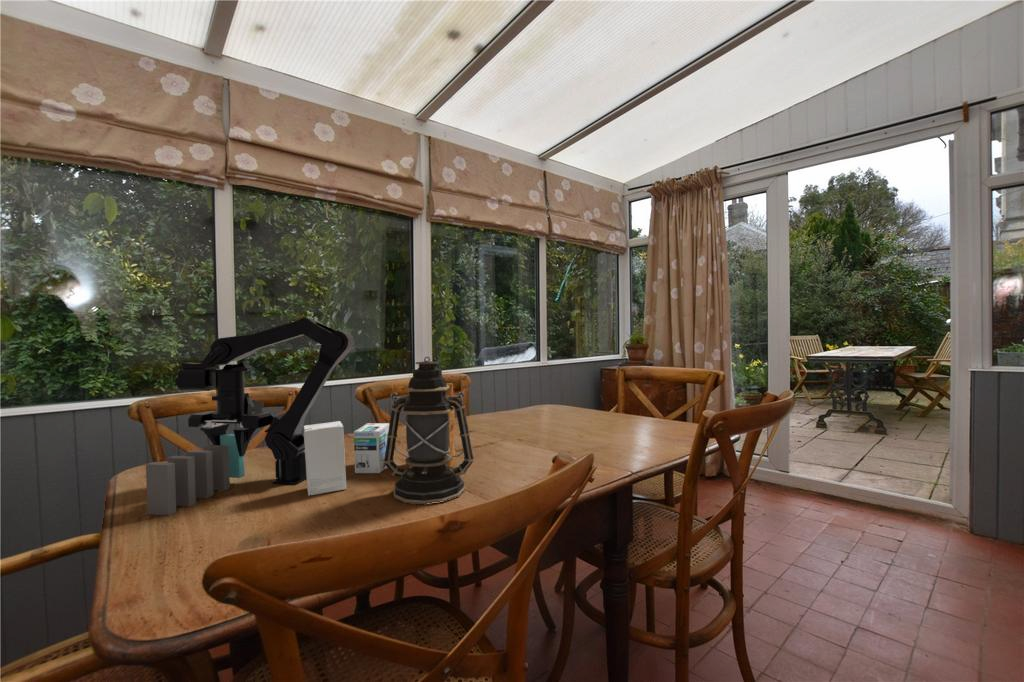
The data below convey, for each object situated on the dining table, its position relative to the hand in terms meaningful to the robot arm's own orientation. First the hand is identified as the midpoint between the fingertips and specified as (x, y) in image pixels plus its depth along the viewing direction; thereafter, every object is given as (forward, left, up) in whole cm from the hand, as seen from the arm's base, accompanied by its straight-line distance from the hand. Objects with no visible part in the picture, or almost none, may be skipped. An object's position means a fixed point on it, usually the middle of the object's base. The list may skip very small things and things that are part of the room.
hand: (232, 455), depth 107 cm
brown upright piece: (-43, -19, -7) cm, 47 cm away
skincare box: (-25, +1, -7) cm, 26 cm away
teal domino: (0, 0, -5) cm, 5 cm away
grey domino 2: (0, +5, -7) cm, 8 cm away
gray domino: (0, +18, -7) cm, 19 cm away
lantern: (-49, -1, -7) cm, 49 cm away
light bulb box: (-28, -16, -7) cm, 33 cm away
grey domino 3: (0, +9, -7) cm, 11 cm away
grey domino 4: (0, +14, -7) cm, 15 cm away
